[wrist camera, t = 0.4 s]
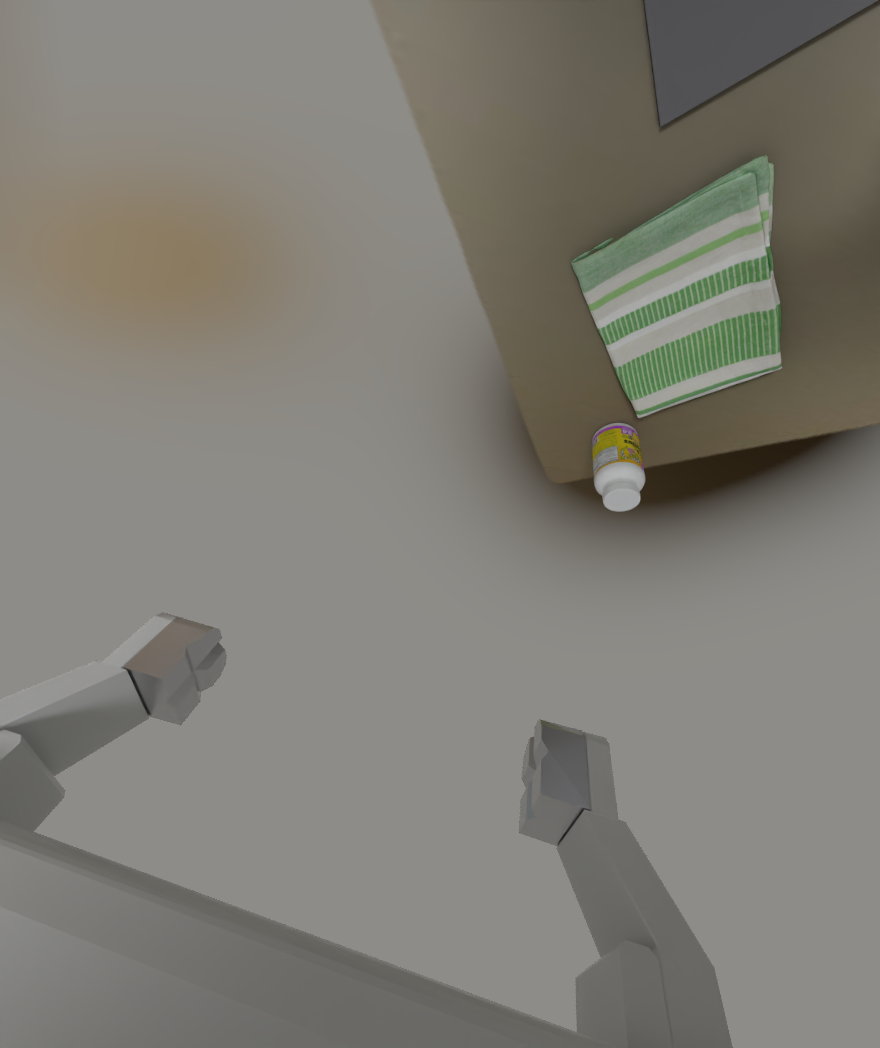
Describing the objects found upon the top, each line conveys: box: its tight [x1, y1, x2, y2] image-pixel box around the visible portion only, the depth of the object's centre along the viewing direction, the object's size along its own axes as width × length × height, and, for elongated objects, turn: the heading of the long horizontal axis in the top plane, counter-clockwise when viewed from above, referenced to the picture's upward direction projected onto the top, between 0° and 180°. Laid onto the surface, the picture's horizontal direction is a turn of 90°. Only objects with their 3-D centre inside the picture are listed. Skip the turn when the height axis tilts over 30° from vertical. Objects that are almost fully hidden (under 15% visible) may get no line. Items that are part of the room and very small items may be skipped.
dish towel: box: [571, 155, 782, 418], centre depth 48 cm, size 18×23×3 cm
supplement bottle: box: [592, 423, 645, 512], centre depth 60 cm, size 7×7×13 cm
